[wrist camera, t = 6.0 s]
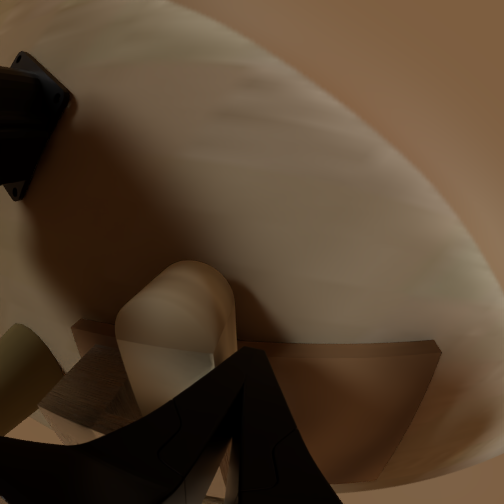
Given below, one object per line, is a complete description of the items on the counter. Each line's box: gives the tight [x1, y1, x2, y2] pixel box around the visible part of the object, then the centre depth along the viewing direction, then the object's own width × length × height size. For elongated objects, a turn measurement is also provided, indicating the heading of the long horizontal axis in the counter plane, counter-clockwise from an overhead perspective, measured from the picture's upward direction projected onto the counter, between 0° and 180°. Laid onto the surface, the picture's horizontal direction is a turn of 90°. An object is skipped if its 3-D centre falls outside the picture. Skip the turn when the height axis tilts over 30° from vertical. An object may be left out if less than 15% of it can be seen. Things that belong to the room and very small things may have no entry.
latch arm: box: [115, 260, 237, 503], centre depth 10 cm, size 15×4×3 cm, turn 1°
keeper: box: [37, 344, 230, 504], centre depth 11 cm, size 9×8×6 cm
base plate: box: [71, 319, 442, 484], centre depth 13 cm, size 18×12×1 cm, turn 91°
